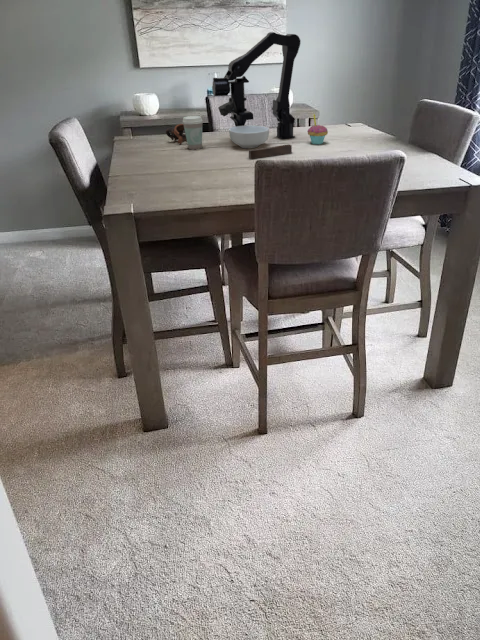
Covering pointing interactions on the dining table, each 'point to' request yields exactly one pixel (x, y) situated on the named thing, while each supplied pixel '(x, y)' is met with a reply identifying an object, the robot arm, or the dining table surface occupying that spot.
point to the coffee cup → (193, 131)
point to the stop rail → (270, 151)
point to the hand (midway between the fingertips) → (239, 134)
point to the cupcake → (317, 133)
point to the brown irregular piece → (177, 133)
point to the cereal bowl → (249, 135)
